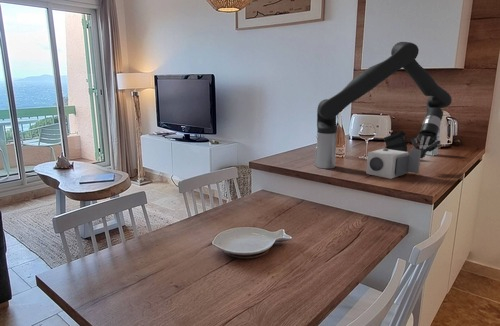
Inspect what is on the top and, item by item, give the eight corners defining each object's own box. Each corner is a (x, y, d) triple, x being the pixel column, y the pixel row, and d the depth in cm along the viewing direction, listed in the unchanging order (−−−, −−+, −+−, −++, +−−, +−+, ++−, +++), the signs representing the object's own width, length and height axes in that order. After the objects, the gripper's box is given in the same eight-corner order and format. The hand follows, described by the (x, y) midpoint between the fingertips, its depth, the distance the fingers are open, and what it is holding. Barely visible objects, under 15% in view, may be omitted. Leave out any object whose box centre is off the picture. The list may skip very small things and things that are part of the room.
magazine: (409, 157, 184) (400, 131, 186) (388, 164, 194) (380, 139, 197) (413, 157, 186) (404, 130, 188) (392, 163, 197) (384, 138, 199)
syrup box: (437, 155, 199) (440, 129, 195) (432, 156, 195) (435, 130, 192) (427, 153, 203) (430, 128, 200) (422, 154, 200) (425, 129, 196)
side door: (395, 175, 152) (397, 151, 149) (406, 171, 158) (408, 148, 155) (407, 178, 148) (410, 152, 145) (418, 174, 154) (421, 149, 151)
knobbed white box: (364, 174, 159) (366, 150, 156) (382, 168, 168) (383, 146, 166) (389, 179, 149) (391, 154, 147) (406, 173, 159) (408, 150, 157)
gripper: (414, 121, 164) (403, 150, 157) (445, 123, 156) (435, 154, 149) (416, 131, 169) (406, 160, 163) (446, 133, 161) (437, 164, 154)
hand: (420, 157), depth 156 cm, fingers closed
